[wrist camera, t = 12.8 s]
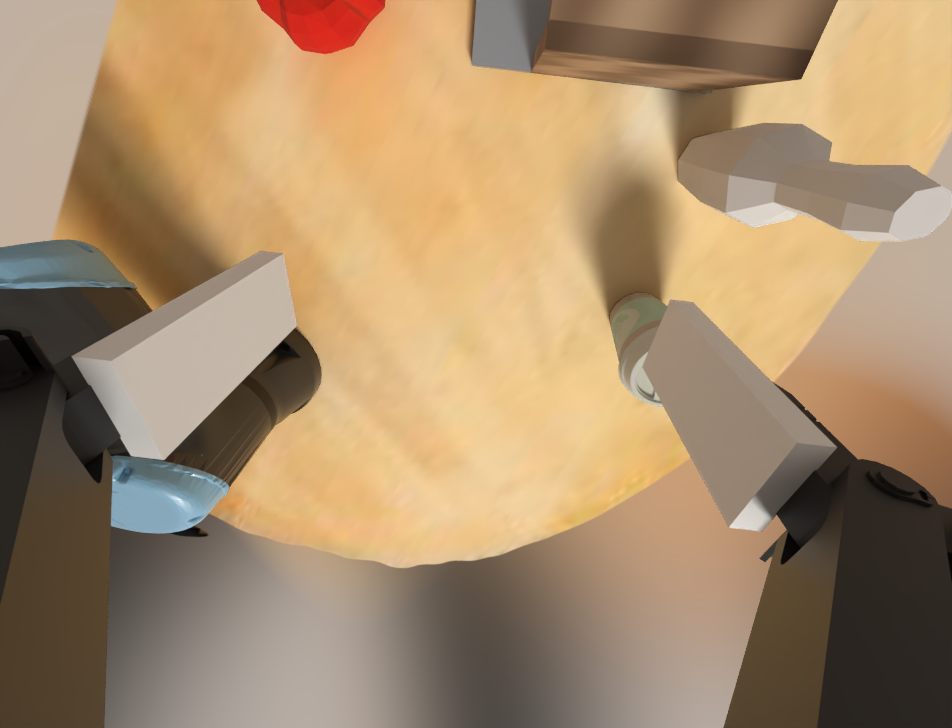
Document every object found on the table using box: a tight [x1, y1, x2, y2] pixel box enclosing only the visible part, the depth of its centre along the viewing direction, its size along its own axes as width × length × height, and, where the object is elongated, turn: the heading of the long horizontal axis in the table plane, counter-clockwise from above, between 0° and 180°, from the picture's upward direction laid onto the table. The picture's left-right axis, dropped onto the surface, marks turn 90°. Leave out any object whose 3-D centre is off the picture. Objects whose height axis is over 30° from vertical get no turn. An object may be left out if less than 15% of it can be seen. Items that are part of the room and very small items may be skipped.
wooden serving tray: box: [531, 0, 838, 91], centre depth 25 cm, size 14×4×14 cm, turn 84°
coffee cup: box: [610, 293, 667, 407], centre depth 39 cm, size 9×9×12 cm
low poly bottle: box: [678, 123, 952, 241], centre depth 26 cm, size 6×6×22 cm
